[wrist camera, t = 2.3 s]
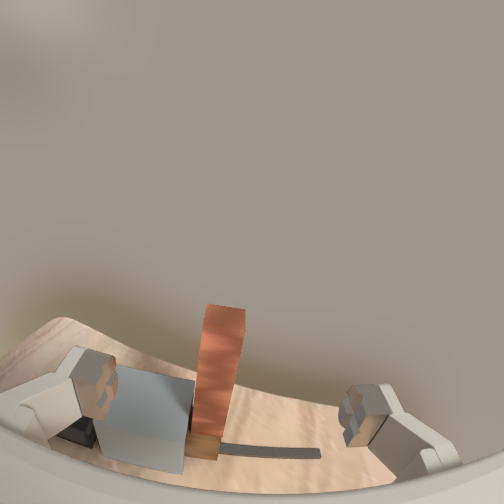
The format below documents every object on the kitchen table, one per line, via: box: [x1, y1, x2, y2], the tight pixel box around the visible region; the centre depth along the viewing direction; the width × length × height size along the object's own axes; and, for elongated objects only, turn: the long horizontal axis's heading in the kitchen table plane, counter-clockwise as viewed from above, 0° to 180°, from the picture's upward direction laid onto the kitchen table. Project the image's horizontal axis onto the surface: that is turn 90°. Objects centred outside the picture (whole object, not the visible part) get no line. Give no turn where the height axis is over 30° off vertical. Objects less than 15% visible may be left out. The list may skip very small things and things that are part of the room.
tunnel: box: [93, 365, 195, 475], centre depth 29 cm, size 9×9×7 cm
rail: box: [218, 443, 321, 459], centre depth 31 cm, size 26×1×1 cm, turn 91°
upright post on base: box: [184, 304, 245, 461], centre depth 27 cm, size 10×4×18 cm, turn 91°
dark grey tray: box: [56, 415, 97, 449], centre depth 29 cm, size 7×8×2 cm
